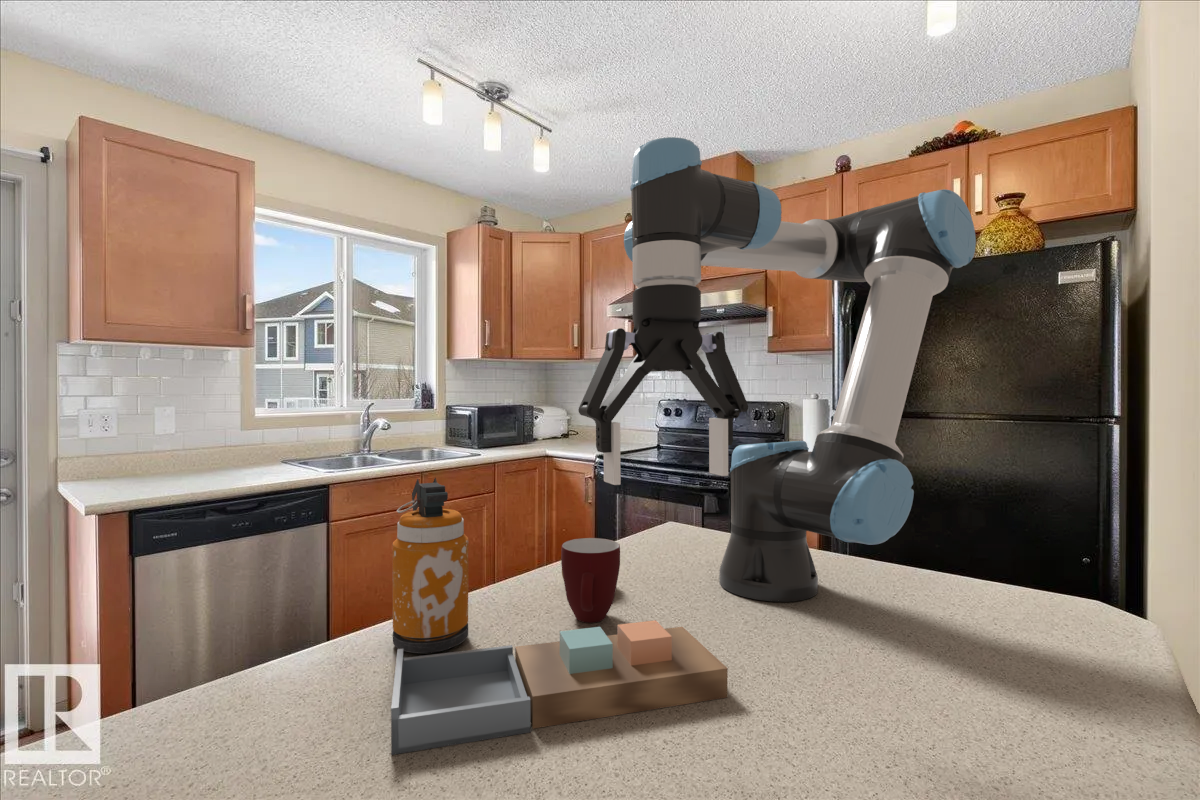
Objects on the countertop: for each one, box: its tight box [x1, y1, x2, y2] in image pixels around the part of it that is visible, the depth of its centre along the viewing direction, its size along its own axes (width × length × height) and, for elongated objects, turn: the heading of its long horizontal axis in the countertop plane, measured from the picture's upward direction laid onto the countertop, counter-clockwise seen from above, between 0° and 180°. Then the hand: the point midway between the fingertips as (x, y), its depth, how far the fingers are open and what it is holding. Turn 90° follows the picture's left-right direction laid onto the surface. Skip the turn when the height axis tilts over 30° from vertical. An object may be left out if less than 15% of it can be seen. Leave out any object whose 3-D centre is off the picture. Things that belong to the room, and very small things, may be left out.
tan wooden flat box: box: [514, 626, 729, 730], centre depth 63 cm, size 20×11×3 cm, turn 106°
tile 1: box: [559, 626, 613, 674], centre depth 62 cm, size 4×4×2 cm
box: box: [390, 644, 531, 756], centre depth 58 cm, size 12×12×4 cm
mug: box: [560, 537, 621, 624], centre depth 80 cm, size 11×8×10 cm
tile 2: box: [616, 620, 672, 666], centre depth 63 cm, size 4×4×2 cm
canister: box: [392, 477, 469, 655], centre depth 74 cm, size 9×11×20 cm
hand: (667, 478), depth 66 cm, fingers open, 13 cm apart
